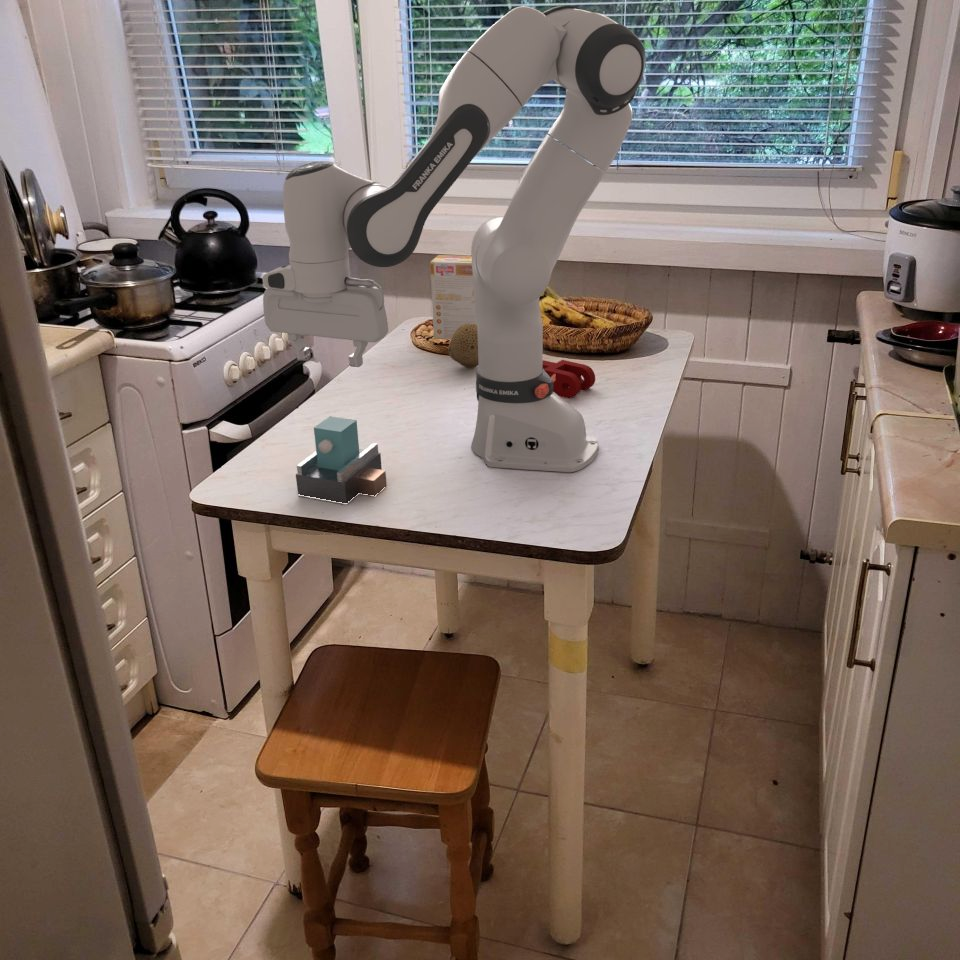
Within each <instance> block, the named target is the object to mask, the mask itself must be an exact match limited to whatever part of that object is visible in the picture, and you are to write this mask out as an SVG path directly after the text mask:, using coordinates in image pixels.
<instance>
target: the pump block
mask: <svg viewBox="0 0 960 960" xmlns="http://www.w3.org/2000/svg"><path fill="white" fill-rule="evenodd" d="M357 424H358V421H357V420H356V419H351V418H345V417H344V418H343V417H337V416H328V417H327V418H326V419H324V420H323V421H321V422H319V423H318V424H317V425H315V426H314V427H313V434H314V442H315V451H316V453H317V462H318V467H320V468H326V469H332V470H338V471H339V470H340V469H342V468H343V467H344V466H345V465H347V464H348V463H349V462H350V461H352V460H353V459H354V458H355V457H357V456H358V455H359V449H360V445H359V433H358V425H357Z"/></svg>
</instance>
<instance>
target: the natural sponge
mask: <svg viewBox="0 0 960 960" xmlns="http://www.w3.org/2000/svg"><path fill="white" fill-rule="evenodd" d="M447 351H448V355H449V357H450V358H451V359H452V360H453V361H455V362H457V363H458V364H459V365H461V366H462V367H464V368H467V369H475V368H476V367H477V366H478V332H477V324H470V323H467V324H464V325H462V326H460V327H459V328H458V329H457V330H456V331H455V333H454V335H453V337H452V340H451V342H450V344H449V345H448V347H447Z"/></svg>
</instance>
